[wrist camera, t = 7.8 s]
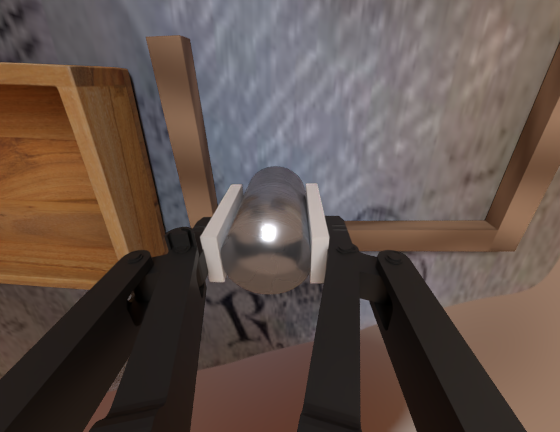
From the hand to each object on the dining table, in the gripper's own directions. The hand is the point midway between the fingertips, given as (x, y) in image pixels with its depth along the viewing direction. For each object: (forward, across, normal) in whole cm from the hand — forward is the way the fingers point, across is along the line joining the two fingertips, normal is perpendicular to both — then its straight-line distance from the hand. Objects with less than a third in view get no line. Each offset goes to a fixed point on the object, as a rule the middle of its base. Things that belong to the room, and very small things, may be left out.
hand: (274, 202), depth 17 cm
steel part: (+2, 0, 0) cm, 2 cm away
